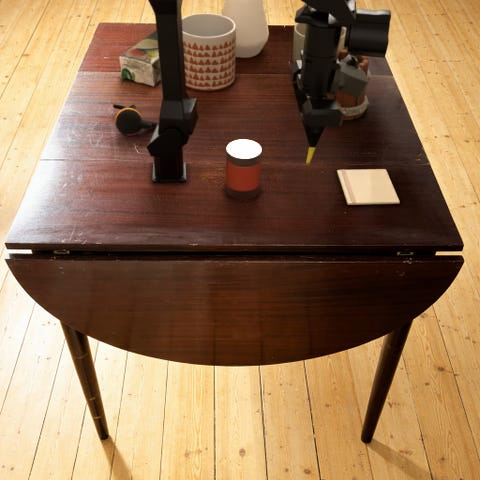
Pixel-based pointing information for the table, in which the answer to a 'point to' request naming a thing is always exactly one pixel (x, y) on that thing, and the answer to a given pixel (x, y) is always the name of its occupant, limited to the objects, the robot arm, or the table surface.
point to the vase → (209, 51)
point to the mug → (348, 102)
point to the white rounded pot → (247, 25)
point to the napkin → (367, 187)
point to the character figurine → (131, 120)
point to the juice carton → (142, 61)
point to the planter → (300, 35)
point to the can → (243, 169)
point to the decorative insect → (310, 154)
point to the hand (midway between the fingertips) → (309, 136)
